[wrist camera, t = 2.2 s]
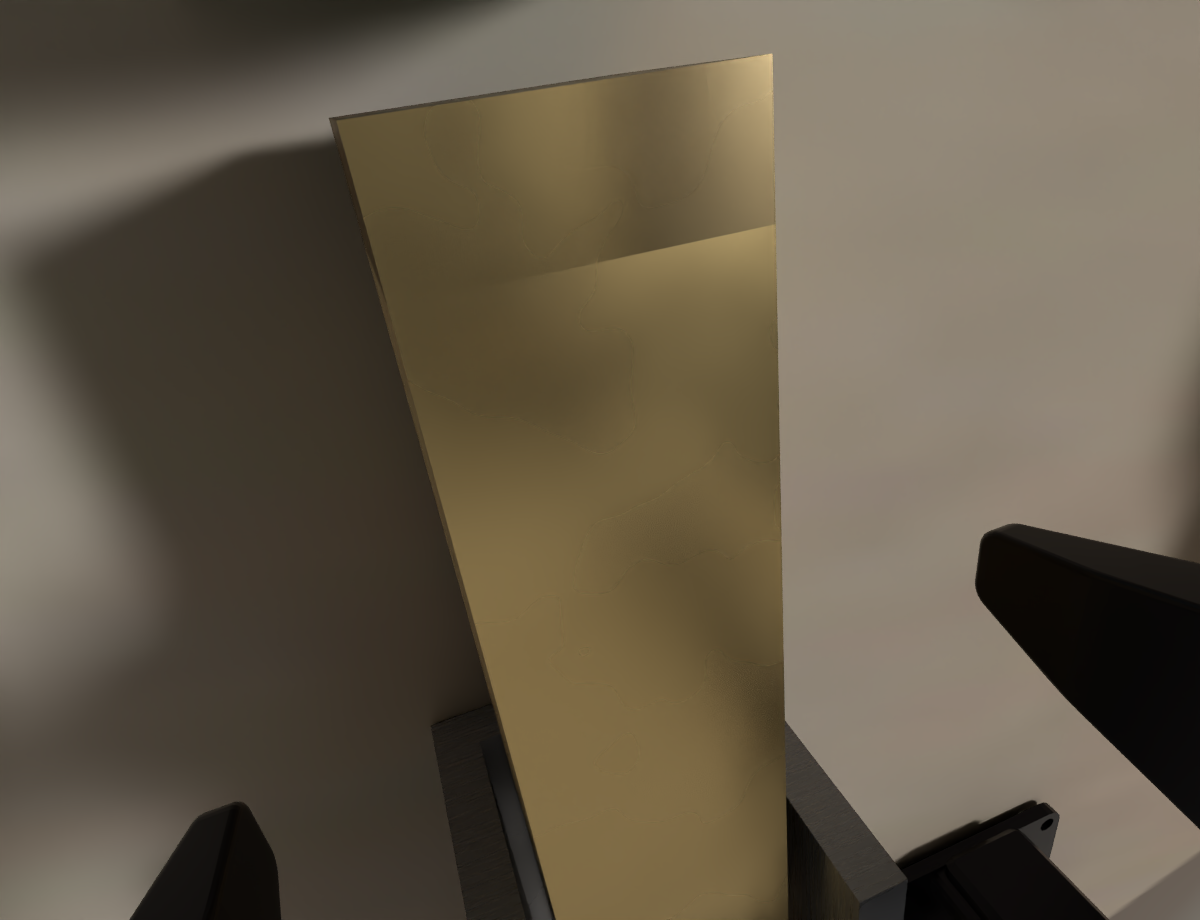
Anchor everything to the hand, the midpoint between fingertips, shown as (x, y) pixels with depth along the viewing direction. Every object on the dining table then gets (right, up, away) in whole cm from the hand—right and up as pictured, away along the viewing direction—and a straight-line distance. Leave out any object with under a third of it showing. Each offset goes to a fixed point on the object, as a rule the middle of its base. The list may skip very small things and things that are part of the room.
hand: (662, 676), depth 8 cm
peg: (-1, -1, +5) cm, 5 cm away
